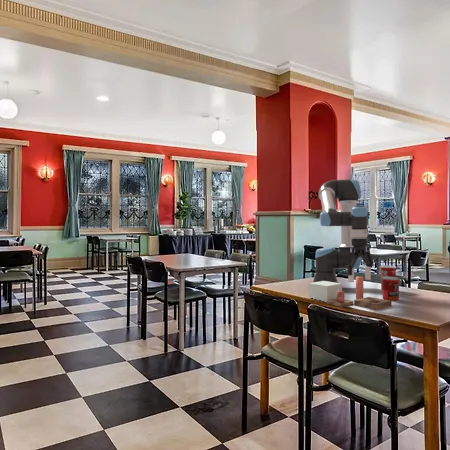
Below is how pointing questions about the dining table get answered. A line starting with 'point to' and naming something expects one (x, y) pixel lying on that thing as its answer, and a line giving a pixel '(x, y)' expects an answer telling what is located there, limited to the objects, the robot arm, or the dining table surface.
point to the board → (334, 302)
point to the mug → (387, 272)
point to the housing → (324, 290)
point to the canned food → (390, 288)
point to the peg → (359, 287)
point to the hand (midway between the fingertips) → (359, 280)
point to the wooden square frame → (373, 303)
